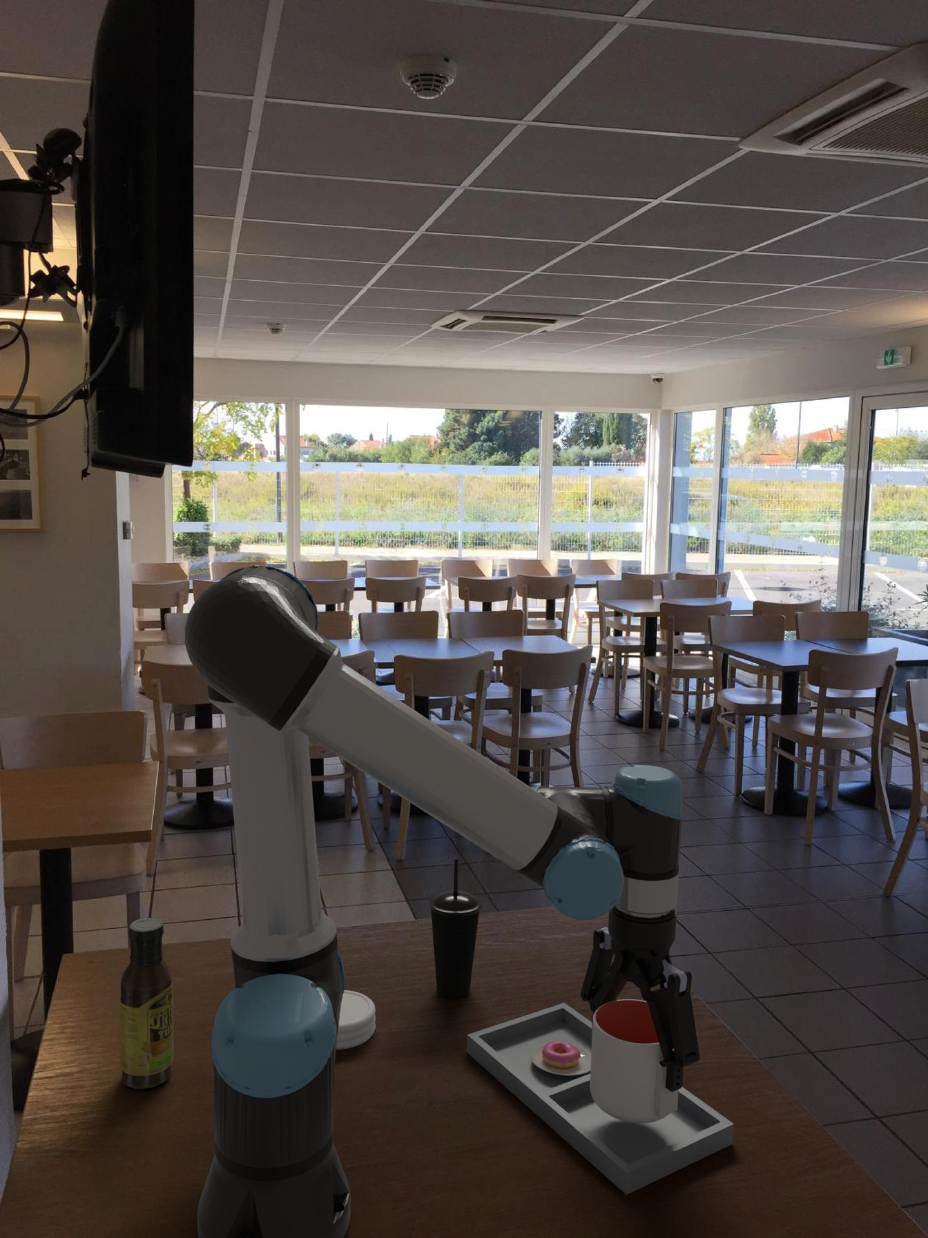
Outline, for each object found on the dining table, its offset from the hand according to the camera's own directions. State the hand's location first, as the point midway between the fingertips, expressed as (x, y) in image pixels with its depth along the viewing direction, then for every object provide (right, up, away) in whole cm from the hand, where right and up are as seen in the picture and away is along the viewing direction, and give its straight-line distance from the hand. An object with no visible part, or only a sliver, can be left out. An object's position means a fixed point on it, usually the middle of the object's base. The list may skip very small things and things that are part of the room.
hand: (633, 1087), depth 118 cm
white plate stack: (-37, -2, +20) cm, 42 cm away
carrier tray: (-4, -4, +7) cm, 9 cm away
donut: (-7, -3, +11) cm, 13 cm away
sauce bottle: (-59, -3, +9) cm, 59 cm away
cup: (0, -2, 0) cm, 2 cm away
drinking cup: (-21, 0, +31) cm, 38 cm away
